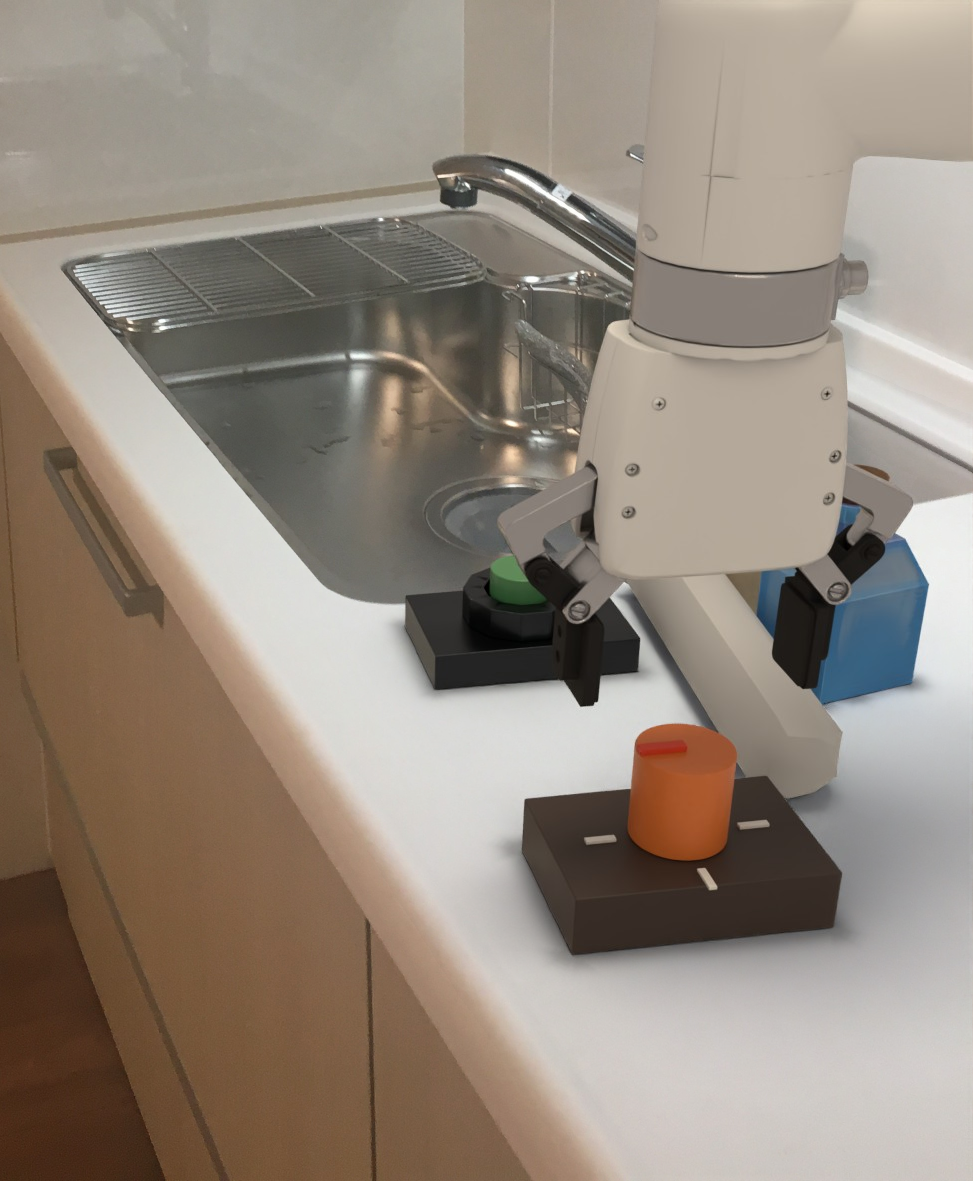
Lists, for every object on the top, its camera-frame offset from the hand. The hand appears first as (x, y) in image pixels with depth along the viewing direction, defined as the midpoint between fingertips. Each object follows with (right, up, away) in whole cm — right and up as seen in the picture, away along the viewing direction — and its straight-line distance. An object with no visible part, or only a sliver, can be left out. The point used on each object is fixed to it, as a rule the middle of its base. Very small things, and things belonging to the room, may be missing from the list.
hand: (686, 682), depth 70 cm
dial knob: (+1, -7, +4) cm, 8 cm away
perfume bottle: (+15, -1, +23) cm, 27 cm away
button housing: (-2, +1, +26) cm, 26 cm away
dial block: (+1, -10, +5) cm, 11 cm away
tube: (+8, -2, +21) cm, 23 cm away
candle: (+13, +3, +30) cm, 33 cm away
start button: (-3, +4, +25) cm, 25 cm away
